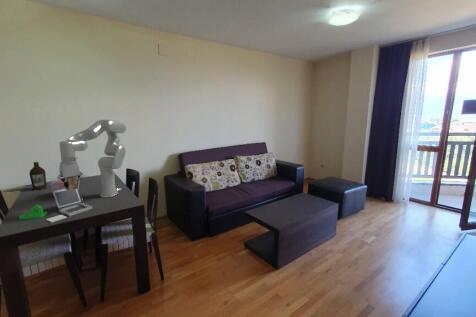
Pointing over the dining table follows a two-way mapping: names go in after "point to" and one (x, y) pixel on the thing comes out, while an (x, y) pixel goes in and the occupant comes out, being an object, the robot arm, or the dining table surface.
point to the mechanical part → (34, 213)
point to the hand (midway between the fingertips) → (71, 186)
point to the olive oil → (38, 177)
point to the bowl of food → (59, 185)
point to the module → (72, 183)
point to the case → (69, 201)
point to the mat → (56, 218)
